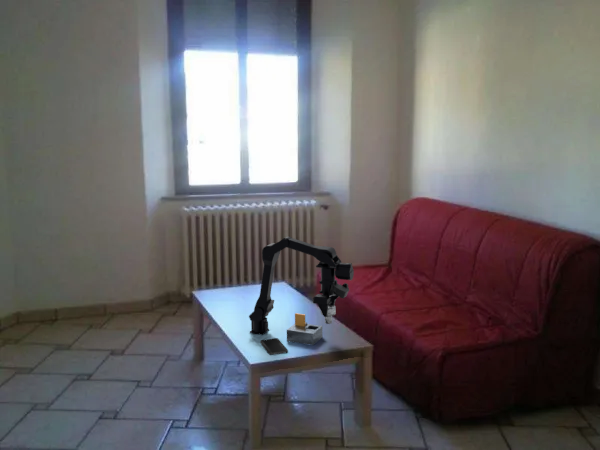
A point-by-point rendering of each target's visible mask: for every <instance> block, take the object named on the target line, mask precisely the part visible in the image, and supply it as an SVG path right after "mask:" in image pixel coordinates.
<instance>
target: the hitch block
mask: <svg viewBox="0 0 600 450" xmlns="http://www.w3.org/2000/svg"><path fill="white" fill-rule="evenodd" d="M321 339H323V325H317V324H311V323H307V325H306V326H298V325H295V323H294V324H292V325H291V326H290V327H288V328H287V329H286V342H289V341H290V343H291V342H292V343H295V342H296V343H297V344H303V345H310V346H314V345H316V343H318V342H320V340H321Z"/></svg>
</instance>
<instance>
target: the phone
mask: <svg viewBox="0 0 600 450" xmlns="http://www.w3.org/2000/svg"><path fill="white" fill-rule="evenodd" d="M259 342H260V345H262V347H263V348H264V349H265V351H266V353H267V354H268V355H270V356H272V355H273V356H274V355H280V354H287V353H288V352H289V350H288V349H287V347H286V346H285V344H283V343H282V341H281V340H280V339H279V338H276V337H273V338H268V339H267V338H266V339H261V340H260V341H259Z"/></svg>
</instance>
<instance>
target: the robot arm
mask: <svg viewBox="0 0 600 450" xmlns="http://www.w3.org/2000/svg"><path fill="white" fill-rule="evenodd" d="M286 248H288V249H290V250H293V251H297V252H299V253H302V254H306V255H309V256H312V257H313V258H315V260H317V261H318V264H317V265H315V267H316V268H319V269H320V277H321V278H320V280H318V281H319V283H318V284H319V285H320V289H321V290H318V291H319V293H317V294H316V295H314V297H313V298H312V303H313V304H317V306H318V308H319V309H320V313H321V312H322V314H323V315H322V314H321V315H322V316H323V317H324V318H325V317H327V312H328V305H329V304H330V305H335V303H336V300H337V299H339V298H340V299H345V298H346V297H347V296H348V293H349V292H350V287H349V284H348V283H346V282H345V283H343V284H339V283H338V280H345V281H352V280H353V279H354V276H355V275H354V274H355V270H354V268H353V267H354V266H353V264H352V263H351V262H350V263H349V262H348V263H345V262H342V260H341V259H340V258H339V257H338V255H337V251H336V249H335V248H334V247H332V246H325V245H315V244H312V243H308V242H305V241H302V240H299V239H296V238H293V237H291V236H285V237H283V238H282V239H281V240H279V241H278V242H272V243H269V244H268V245H265V246H264V247H263V248H262V250H261V258H262V263H263V269H262V276H261V285H260V289H259V290H260V292H259V296H258V298H257V300H256V302H255V305H254V308H253V311H252V312H251V313H250V314H249V315H248V318H249V320H250V321H251V324H250V325H251V330H250V331H249V333H250V334H256V335H264V334H266V333H267V332H269V331H270V329H269V321H268V316H269V313H271V312H272V310H273V309H274V304H275V303H274V302H275V299H272V296H271V295H272V288H273V287H272V286H273V280H274V273H275V267H276V263H277V261H278V259H279V258H280V257H279V256H280V255H281V254H280V253H281V251H282V250H284V249H286ZM337 279H338V280H337Z"/></svg>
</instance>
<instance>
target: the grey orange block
mask: <svg viewBox="0 0 600 450" xmlns="http://www.w3.org/2000/svg"><path fill="white" fill-rule="evenodd" d="M294 324H295V325H298V326H306V325H307V324H308V322H306V314H305V313H304V314H303V313H298V312H297V313H294Z"/></svg>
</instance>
